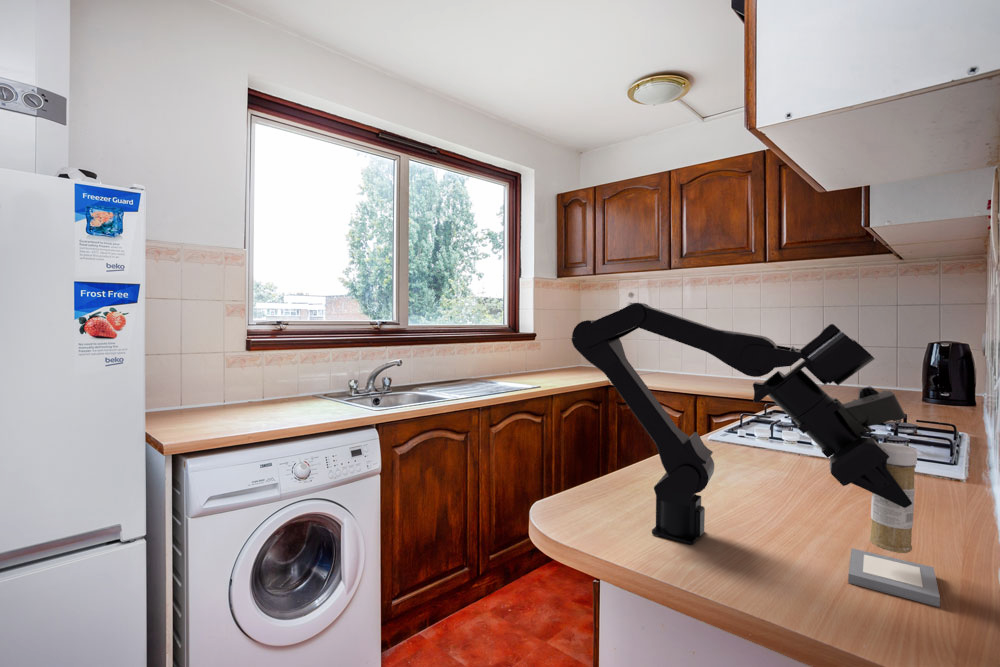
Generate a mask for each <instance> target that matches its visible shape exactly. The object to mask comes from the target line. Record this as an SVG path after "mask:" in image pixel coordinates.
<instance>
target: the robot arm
mask: <svg viewBox="0 0 1000 667" xmlns="http://www.w3.org/2000/svg"><path fill="white" fill-rule="evenodd" d="M638 329H641V330H644V331H646V332H649V333H653V334H654V335H658V336H661V337H664V338H666V339H669V340H672V341H676V342H678V343H681V344H683V345H687V346H689V347H691V348H695V349H698V350H700V351H702V352H703V351H704V352H706V353H707V354H708V355H709V354H710V355H712V356H713V357H715V358H716V359H717V360H719V361H721V362H722V363H723V364H725V365H727V366H729V367H731V368H732V369H735V370H737V371H738V372H739V373H741V374H744V375H745V376H747V377H748V376H749V377H751V378H753V377H754V378H760V377H763V376H765V375H768V374H770V373H771V372H772V371H773V370H774V369H776V368H784V367H785V368H786V367H791V366H793V365H794V364H795V363H797V362H798V361H800V360H801V359H803V360H802V362H800V363H799V364H798V365H796V366H795V367H793V368H792V369H791V370H790V371H788V372H786V373H785V374H784V372H783V373H782V371H780V370H777V371H776V372H775V373H774V374H772V375H771V376H770V377H769V378H767V379H765V381H763V382H759V381H758V382H757V381H755V382H753V384H752V388H753V402H754V403H759V402H761V401H762V400H763V399H764V398H767V396H768V397H769V398H770V399H771V400H772V401H773V402H774V403H775V404H776V405H777V406H778V407H779V408H780V410H782V411H783V412H784V413H785V414H786V415H787V416H788V417H789V418H790V419H792V421H793V422H794V423H795V424H796V425H797V429H798V430H799V431H800V432H801V433H802V434H806V435H807V436H808V437H809V438H810V439H811V440H812V441H814V443H815V444H817V445H818V447H819V448H820V449H821V450H820V451H821V453H822V454H823V455H824V456H825V457H826V458H827V459H828V458H829V471H830V474H831V475H832V477H833V478H835V480H836V481H837V482H838V483H839V484H840V485H841V486H842V487H845V486H848V485H849V484H852V485H855V486H856V487H859V488H861V489H864V490H866V491H867V492H870V493H871V494H872V493H874V494H876V495H878V496H881V497H883V498H885V499H887V500H889V501H891V502H893V503H895V504H897V505H899V506H902V507H904V508H906V507H908V506H910V505H911V504H912V502H911V500H910V499H909V498H908V496H907V495H906V494H905V492H904V491H903V490H902V488H901V487H900V485H899V484H898V483H897V481H896V480H895V479H894V477H893V476H892V475H891V473H890V472H889V471H888V469H887V468H886V465H887V459H888V458H889V455H888V453H887V452H886V450H885V449H883V448H882V447H881V446H880V445H879V444H878V443H880V442H879V441H880V440H879V438H878V436H877V435H873V436H870V437H865V436H864V435H866V434H871V433H872V432H874V430H873V428H872V427H873V426H876V425H880V424H883V423H887V422H890V421H893V422H897V421H900V420H903V419H905V418H906V414H905V412H904V410H903V408H902V406H901V404H900V402H899V401H898V398H897V396H896V394H895V393H894V392H892V391H891V390H882V391H881V392H879V391H878V390H876V389H875V388H874V387H872V386H871V385H870V386H866V387H863V388H859V389H858V397H857V399H852V400H851V401H848V402H845V403H842V402H841V401H840V400H839V399H838V398H837V397H831V396H830V394H828V393H827V392H826V391H825V390H823V389H822V387H820V386H819V385H818V384H817V382H815V381H814V380H813V379H812V378H811V377H810V376H809V375H808V374H807V373H805V372H804V370H802V369H804V368H805V369H807V370H808V371H809V372H810V373H811V374H812V375H813V376H814V377H815V378H816V379H817V380H818V381H820V383H822V384H823V385H824V386H826V385H827V384H829V385H830V384H831V383H835V385H837V386H840V385H841V384H843V382H845V381H847V380H848V379H849V378H850V377H852V376H854V375H855V374H856V373H858V372H859V371H860V370H862V369H863V368H864V367H866V366H867V365H868V364H870V363H871V362H872V361H874V360H876V358H875V357H874V356H873V355H872V354H871V353H870V352H868V350H867V349H866V348H864V347H863V346H862V345H861V344H859V343H858V342H857V341H856V340H855V339H853V338H850V337H849V336H848V335H847V334H845V332H843V331H842V330H841V329H839V328H838V327H837V326H836V325H835V324H833V323H830V324H828V325H827V326H825V327H824V329H822V331H821V332H820V333H819V334H818V335H817V336H816V337H814V338H813V339H811V341H809V342H807V344H806V345H804V346H803V347H801V348H795V347H794V346H791V347H789V346H783V345H777V344H776V343H775V341H774V340H773V339H771V338H769V337H768V336H763V335H758V334H752V333H747V332H746V333H745V332H740V331H732V330H726V329H725V330H724V329H718V328H715V327H712V326H710V325H705V324H703V323H700V322H697V321H694V320H690V319H688V318H685V317H681V316H678V315H676V314H672V313H669V312H666V311H664V310H660V309H658V308H654V307H653V306H652V307H651V306H650V305H649V304H647V303H645V302H632V303H629V304H628V305H626V306H625V307H623V308H621V309H619V310H617V311H614V312H612V313H609V314H607V315H605V316H602V317H600V318H598V319H594V320H591V319H587V320H583V321H580V322H579V323H577V324H576V326H575V327H574V328H573V331H572V335H571V339H570V340H571V343H572V345H573V347H574V349H575V350H576V351H577V352H578V353H579V354H580V355H581V356H582V357H583V358H584V359H585V360H586V361H587V362H589V363H590V364H592V365H593V366H594V367H595V368H597V369H598V370H599V371H600V372H602V373H604V375H605V376H606V377H607V379H608V380H609V381H610V383H611V384H612V386H613V387H614V388H615V390H616V391H617V393H618V394H619V395H620V397H621V398H622V400H623V401H624V402H625V404H626V405H627V407H628V408H629V409H630V411H631V412H632V413H633V415H634V416H635V418H636V419H637V420H638V422H639V424H641V426H642V427H643V428H644V430H645V431H646V433H647V434H648V436H649V437H650V439H652V441H653V443H654V444H655V446H656V449H657V452H658V455H659V458H660V462H661V464H662V465H661V466H663V468H664V471H665V473H664V475H663V476H662V477H660V479H659V480H658V481H657V483H655V485H654V487H653V490H654V493H655V526H654V527H653V529H651V534H653V535H656V536H658V537H663V538H665V539H669V540H673V541H676V542H679V543H684V544H689V545H694V544H695V543H696V542H697V541H698V539H699V538H700V537H701V536H702V535H703V534H704V533H705V522H706V521H705V518H706V517H705V514H706V513H705V512H706V510H705V507H704V506H702V496H701V495H699V494H698V493H701V492H702V491H704V490H705V489H706V487H707V485H708V484H709V481H710V480H711V478H712V476H713V474H714V472H715V462H714V460H713V457H712V454H713V453H714V451H712V450H711V449H709V448H708V447H707V446H706V445H705V443H704V442H703V439H702V438H701V436H700V435H699V434H698V432H697V431H694V432H693V433H692V434H691V435H690V436H689V435H688V434H686V433H685V432H684V431H682V430H681V429H680V428H679V427H678V426H677V424H675V422H674V420H673V419H672V418H671V416H670V415H669V414H668V413H667V411H666V410H665V408H664V407H663V406H662V405H661V403H660V402H659V401H658V399H657V398H656V396H655V395H654V394H653V393H652V391H651V389H650V388H649V387H648V386H647V384H646V383H645V381H644V380H643V379H642V378H641V377H640V375H639V374H638V372H637V371H636V370H635V368H634V367H633V366H632V364H631V362H629V360H628V359H627V356H626V352H625V350H624V349H625V348H624V347H623V343H622V342H621V341H622V340H621V338H623V337H625V336H627V335H629V334H630V333H632V332H634V331H636V330H638ZM863 436H864V437H863Z"/></svg>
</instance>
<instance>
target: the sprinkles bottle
mask: <svg viewBox="0 0 1000 667" xmlns="http://www.w3.org/2000/svg"><path fill="white" fill-rule="evenodd" d="M878 444H879V445H880V446H881V447H882V448H883V449H885V450H886V452H887V453H888V455H889V458H888V459H887V465H886V468H887V469H888V471H889V472H890V473H891V475H892V476H893V477H894V479H895V480H896V481H897V483H898V484H899V485H900V487H901V488H902V490H903V491H904V492H905V494H906V495H907V496H908V498H909V499H910V500H911V502H912V504H911V505H910V506H908V507H906V508H904V507H902V506H899V505H897V504H895V503H893V502H891V501H889V500H887V499H885V498H883V497H881V496H878V495H876V494H874V493H872V492H871V500H870V501H871V504H870V505H871V506H870V520H871V522H870V536H869V537H868V538H869V541H870V543H871V544H872V545H873V546H876V548H879V549H881V550H884V551H886V552H889V553H891V552H892V553H897V554H908V553H911V552H912V551H913V545H912V534H913V533H912V531H913V527H914V512H915V472H916V470H915V468H916V467H917V466H916V465H917V464H918V451H917V450H916V448H913V447H911V446H908V445H903V444H899V443H890V442H879V443H878Z"/></svg>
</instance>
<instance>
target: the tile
mask: <svg viewBox="0 0 1000 667" xmlns="http://www.w3.org/2000/svg"><path fill="white" fill-rule="evenodd" d="M849 559H850V560H849V565H848V566H849V567H848V576H847V577H848V578H847V582H848V584H851V585H855V586H860V587H863V588H867V589H869V590H872V591H873V590H874V591H877V592H881V593H885V594H889V595H893V596H896V597H899V598H900V597H901V598H903V599H908V600H912V601H915V602H917V603H918V602H919V603H922V604H926V605H930V606H934V607H937V608H940V606H941V604H940V603H941V598H940V597H941V596H940V591H939V588H938V587H939V586H938V582H937V577H936V572H935V568H934V566H930V565H925V564H921V563H917V562H912V561H909V560H903V559H901V558H900V559H899V558H895V557H891V556H887V555H883V554H879V553H873V552H869V551H865V550H861V549H856V548H853V547H851V550H850V558H849Z"/></svg>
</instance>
